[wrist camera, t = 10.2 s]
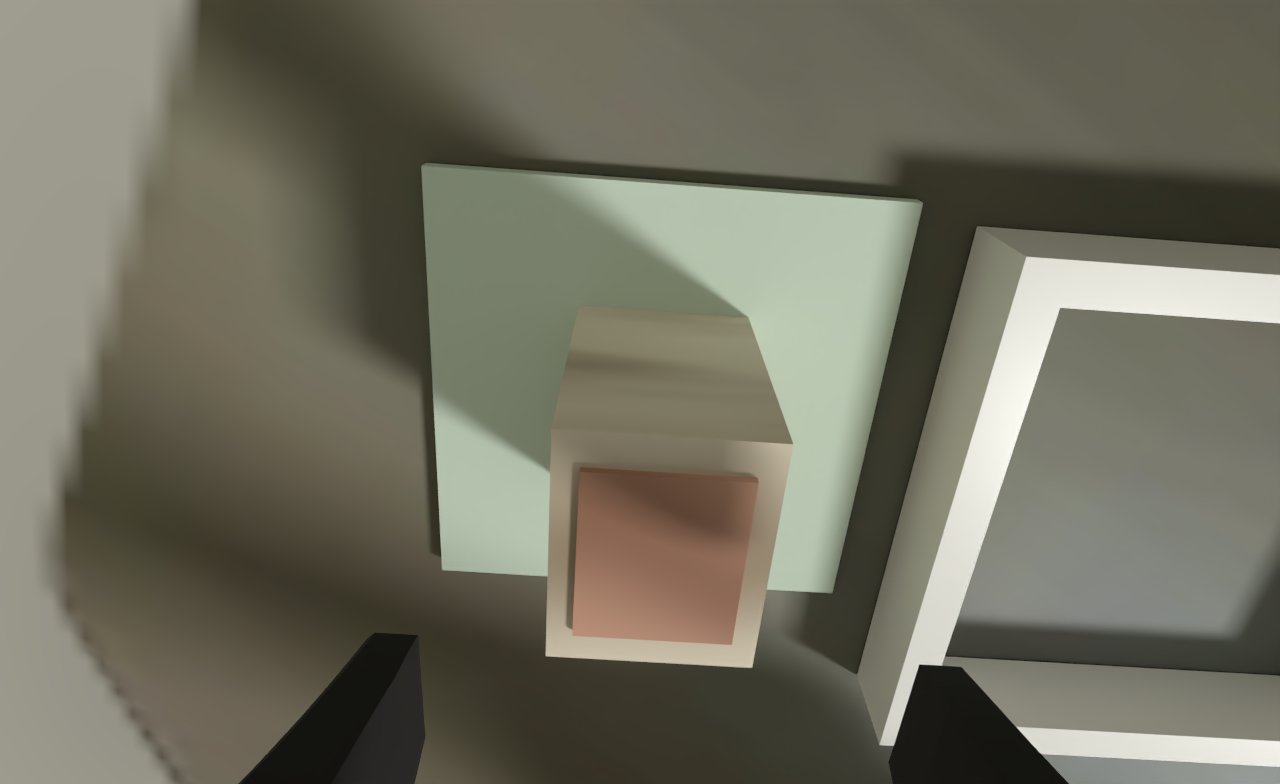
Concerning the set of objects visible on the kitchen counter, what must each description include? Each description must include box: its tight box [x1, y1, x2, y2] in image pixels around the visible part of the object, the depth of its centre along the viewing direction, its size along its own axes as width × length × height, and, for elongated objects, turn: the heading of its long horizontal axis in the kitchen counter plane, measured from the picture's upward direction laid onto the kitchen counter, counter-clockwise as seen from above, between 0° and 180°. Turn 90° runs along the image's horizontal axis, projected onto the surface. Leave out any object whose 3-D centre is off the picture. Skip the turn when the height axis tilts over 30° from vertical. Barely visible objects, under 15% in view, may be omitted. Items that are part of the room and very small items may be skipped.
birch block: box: [546, 306, 793, 668], centre depth 16 cm, size 5×4×6 cm
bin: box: [857, 226, 1280, 767], centre depth 20 cm, size 14×14×2 cm
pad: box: [421, 163, 923, 593], centre depth 19 cm, size 11×11×1 cm
